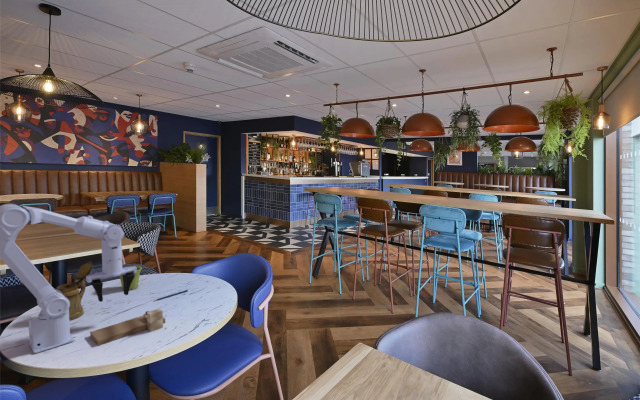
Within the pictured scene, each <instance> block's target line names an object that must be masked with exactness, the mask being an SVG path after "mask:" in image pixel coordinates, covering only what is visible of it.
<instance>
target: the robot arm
mask: <svg viewBox="0 0 640 400" xmlns="http://www.w3.org/2000/svg"><path fill="white" fill-rule="evenodd" d="M21 206H22V207H21ZM21 206H20V205H18V204H15V203H5V204H2V205H0V259H1V260H2V262H4V263H5V265H6V266H7V267H8V268H9V269H10V270H11V272H12V273H13V274H14V275H15V276H16V277H17V278H18V279H19V280H20V282H22V284H23V285H24V286H25V287H26V288H27V290H29V292H30V293H31V294H32V295H33V297H35V298H36V303H37V305H38V307H39V308H40V309H41V310H40V312H39V313H38V315H37V317H35V318H32V319H30V320H28V335H29V336H28V337H29V339H28V343H29V347H30V348H31V350H32V353H33V354H37V353H41V352H44V351H47V350H50V349H53V348H56V347H60V346H63V345H66V344H69V343H73V342H75V338H74V336H72V334H71V328H70V327H71V326H70V324H71V323H70V321H71V320H69V307H70V302H69V300H68V299H67V298H66V297H65V296H64V295H63V294H62V292H61V291H60V290H58V289H56V288H54V287H53V286H52V285H51V284H50V283H49V281H48V280H47V279H46V278H45V277H44V275H43V274H42V273H41V272H40V271H39V270H38V268H37V267H36V266H35V265H34V264H33V262H32V261H31V260H30V259H29V257H28V256H27V255H25V253H24V252H23V251H22V249H21V248H20V246H18V245H17V243H16V240H17V238H18V235H19V232H20V231H22V229H24V227H26V225H28V224H30V225H36V224H39V223H46V224H49V225H56V226H60V227H65V228H69V229H72V230H73V231H74V234H77V235H81V236H86V237H91V238H95V239H101V264H102V265H101V267H102V271H99V272H95V273H93V274H92V273H91V274H89V275H88V276H86V278H85V280H86V281H85V282H87V283H90V285H91V286H92V287H93V289H94V291H95V293H96V296H97V299H98V300H97V301H99V302H100V303H101V302H103V301H104V298H103V285H104V283H103V282H102V280H104V279H106V280H107V279H111V278H115V277H120V275H122V277H123V284H124V288H123V289H122V290H123V295H125V296H128V295H129V291H130V290H129V288H130V285H131V283H132V281H133V279H134V277H135V275H134V274H133V273H137V267H135V265H133V266H134V267H130V266H126V267H127V268H124V267H123V247H122V245H123V244H122V240H123V238H124V236H125V232H124V230H123V227H121V226H120V225H118V224H114V223H112V222H110V221H108V220H100V219H96V218H94V217H93V216H92V215H87V216H84V215H83V216H80V217H78V218H74V217H71V216H67V215H64V214H60V213H57V212H53V211H51V210H46V209H43V208H40V207H33V206H27V205H21Z"/></svg>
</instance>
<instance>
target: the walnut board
mask: <svg viewBox="0 0 640 400" xmlns="http://www.w3.org/2000/svg"><path fill="white" fill-rule="evenodd" d="M165 323H166V318H165V317H164V316H163V324H165ZM145 330H148V326H147V320H146V319H145V318H143V315H140V316H137V317H134V318H131V319H128V320H125V321H122V322H118V323H114V324H112V325H108V326H104V327H101V328H99V329H95V330H93V331H90V332H89V333H90V338H91V340H93V341H94V343H95V344H96V345H97V346H102V345H105V344H107V343H110V342H113V341H116V340H119V339H123V338H126V337H128V336H131V335H133V334H137V333H140V332H143V331H145Z"/></svg>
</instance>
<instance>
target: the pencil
mask: <svg viewBox="0 0 640 400" xmlns="http://www.w3.org/2000/svg"><path fill="white" fill-rule="evenodd" d="M187 292H188V289H186V290H182V291H179V292H176V293H173V294H172V293H171V294H169V295H165V296H162V297H159V298H156V299H154V300H153V302H157V301H161V300H165V299H167V298H171V297H174V296H178V295H181V294H184V293H185V294H186V293H187Z"/></svg>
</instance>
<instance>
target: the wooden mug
mask: <svg viewBox="0 0 640 400" xmlns="http://www.w3.org/2000/svg"><path fill="white" fill-rule="evenodd" d="M92 271H93V263H92V261H91V260H90V261H87V262H85V263H84V264H83V265H81V266H80V267H79V268H78V270H77V273H76V280H75V281H73V283H65V284H61V285H58V286H56V288H55V289H58V290H60V291H61V292H62V294H63V295H64V296H65V297H66V298H67V299H68V300H69V302H70V307H69V321H72V320H75V319H78V318H80V317H81V316H83V315H84V313H85V310H84V307H83V306H82V299H83V297H84V294H85V292H86V287H87V284H86V281H85V280H86V276H88V275H91V274H92ZM78 287H79V288H80V289H79V288H78Z"/></svg>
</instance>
